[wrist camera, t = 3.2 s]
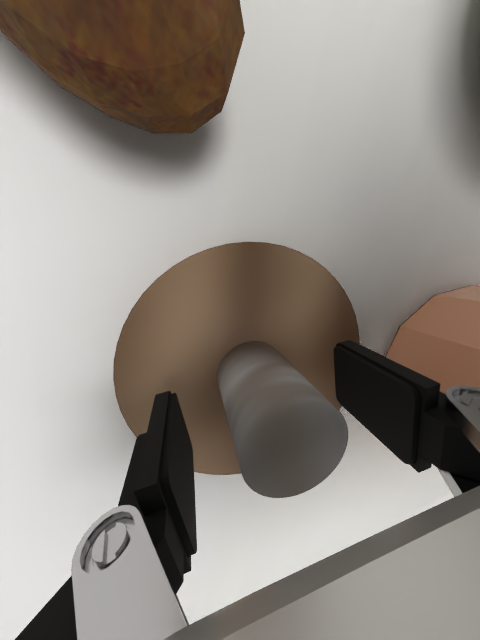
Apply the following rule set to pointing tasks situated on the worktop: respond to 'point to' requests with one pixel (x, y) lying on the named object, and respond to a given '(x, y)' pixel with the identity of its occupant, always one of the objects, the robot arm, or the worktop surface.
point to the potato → (134, 54)
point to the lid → (243, 363)
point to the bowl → (443, 339)
